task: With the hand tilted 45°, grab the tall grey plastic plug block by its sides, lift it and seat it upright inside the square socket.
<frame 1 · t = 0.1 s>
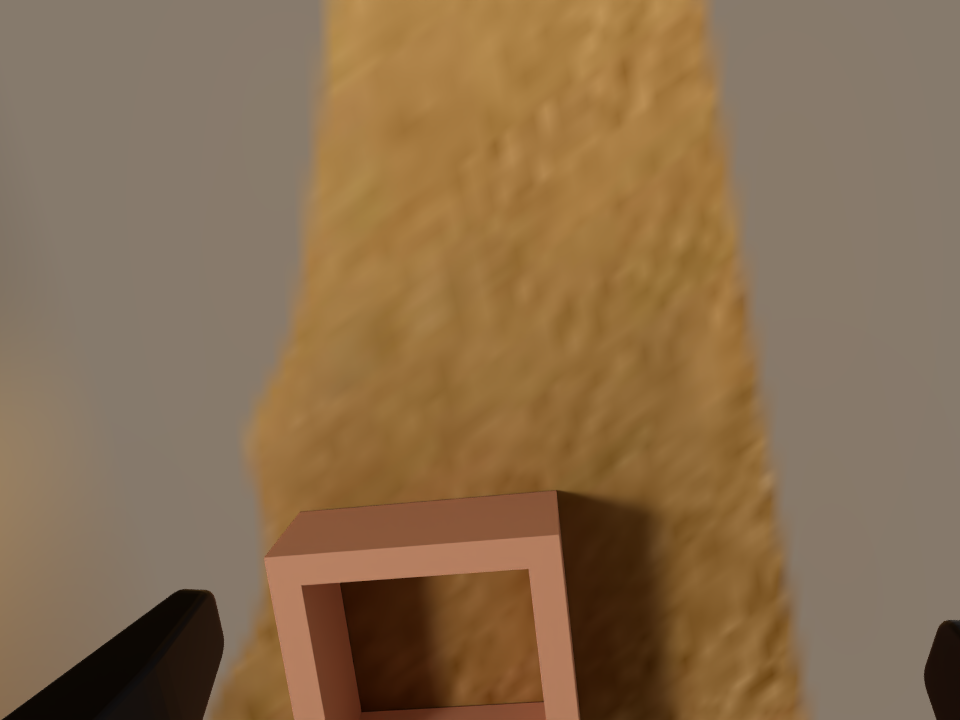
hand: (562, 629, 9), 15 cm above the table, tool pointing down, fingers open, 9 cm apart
socket: (442, 619, 27), on the table
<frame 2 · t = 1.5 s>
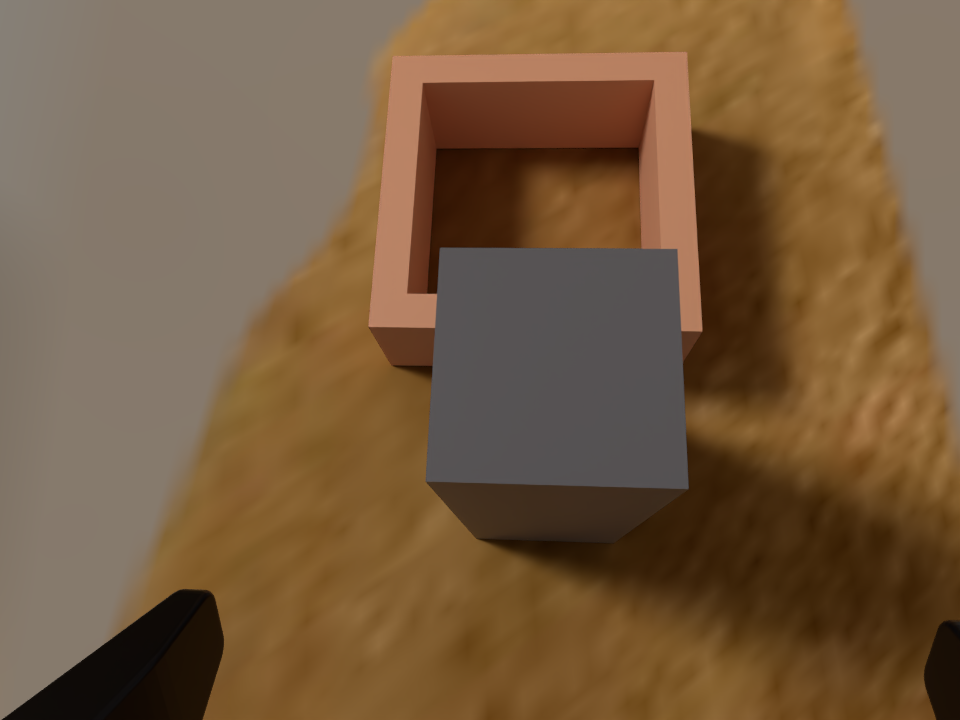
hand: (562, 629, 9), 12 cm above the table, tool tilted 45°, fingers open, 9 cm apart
plug: (545, 472, 22), on the table
socket: (534, 238, 25), on the table
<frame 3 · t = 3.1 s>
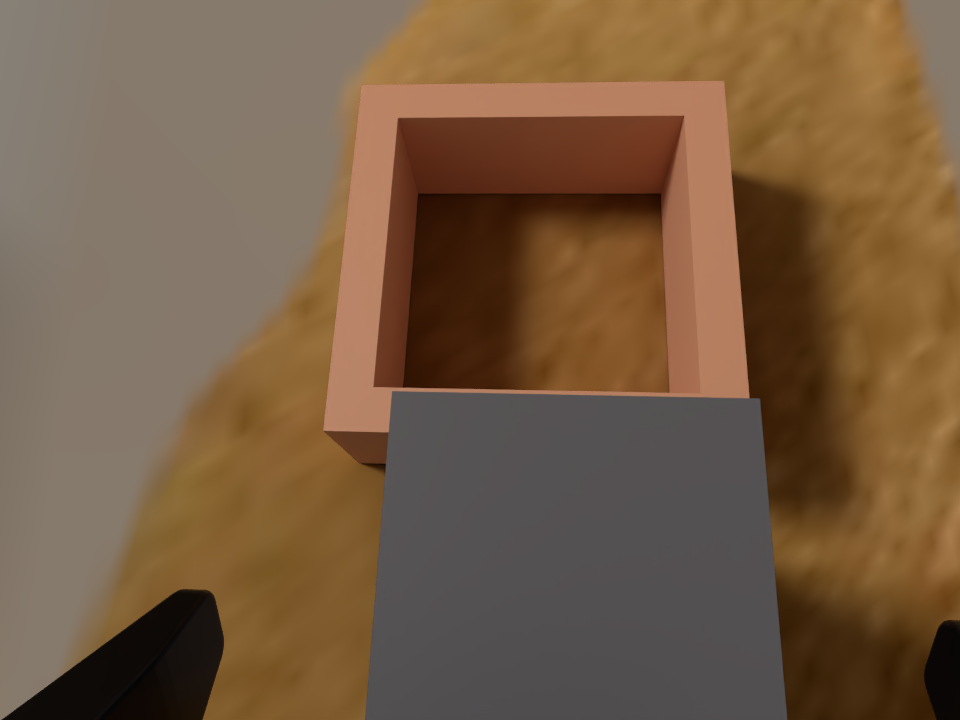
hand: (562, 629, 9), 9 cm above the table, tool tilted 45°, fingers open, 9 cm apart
plug: (549, 604, 18), on the table
socket: (536, 304, 20), on the table
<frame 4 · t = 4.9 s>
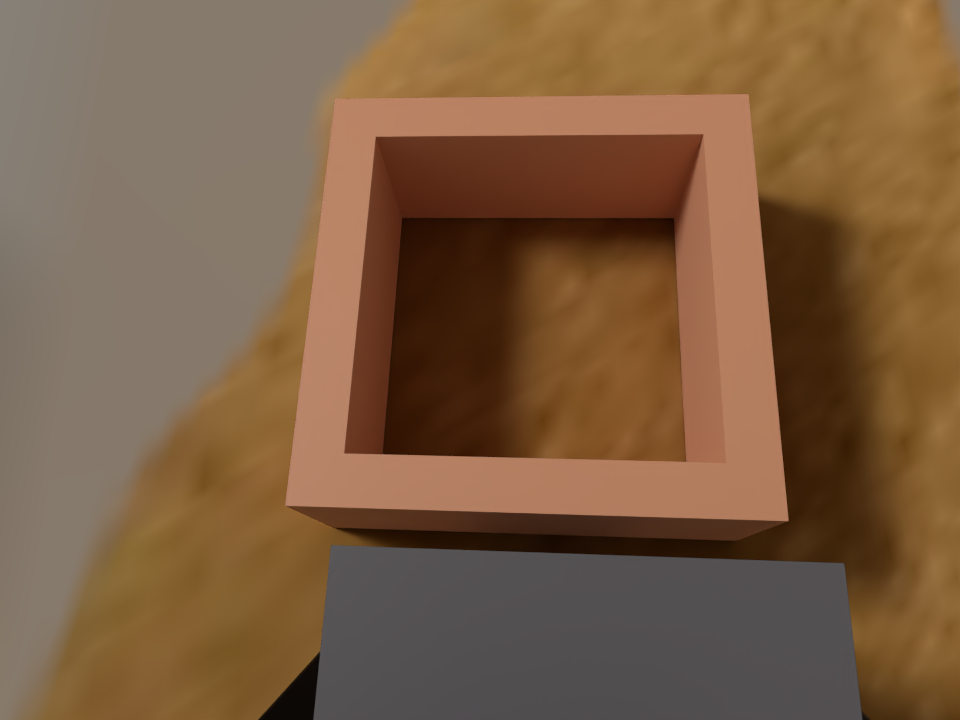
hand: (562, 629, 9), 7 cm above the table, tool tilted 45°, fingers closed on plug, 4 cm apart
plug: (549, 695, 16), on the table, touching gripper
socket: (534, 345, 18), on the table
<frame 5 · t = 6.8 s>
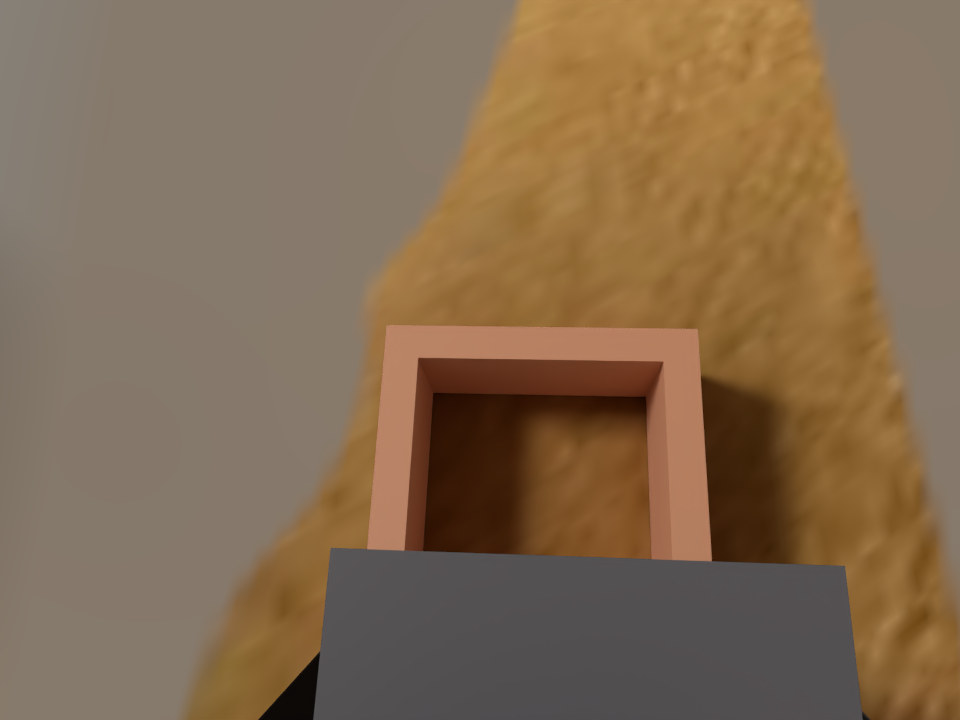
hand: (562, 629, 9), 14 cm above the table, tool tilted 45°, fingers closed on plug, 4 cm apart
plug: (549, 696, 16), point 7 cm above the table, touching gripper
socket: (536, 501, 23), on the table
when the fingers open (8 cm above the table, at t = 9.2 s): plug drops 1 cm, resting in socket.
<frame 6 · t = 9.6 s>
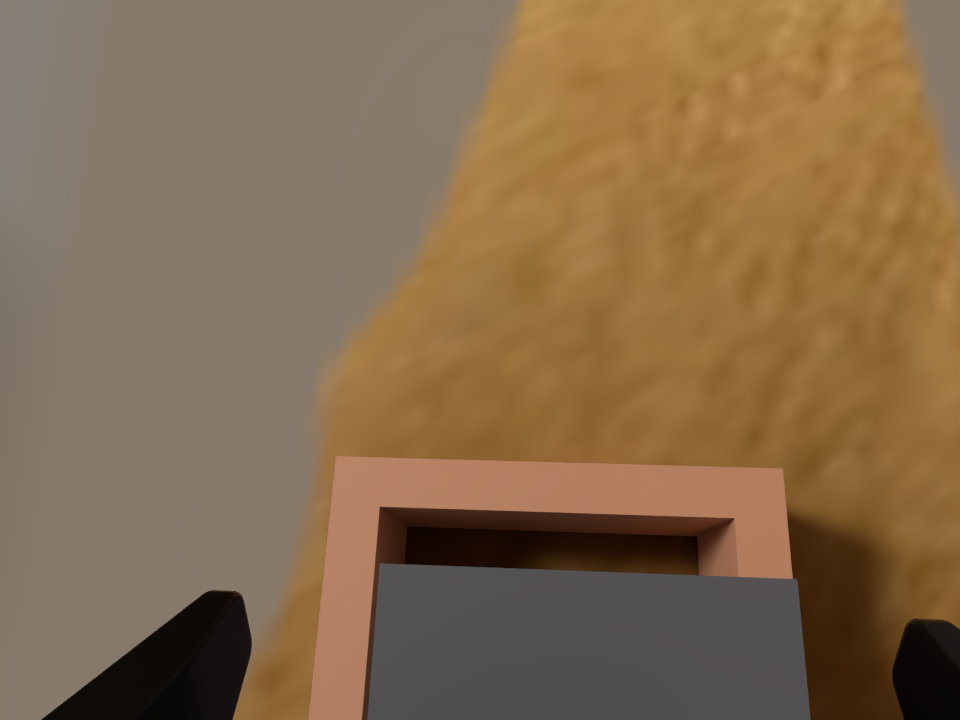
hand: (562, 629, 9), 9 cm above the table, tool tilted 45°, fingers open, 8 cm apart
plug: (545, 690, 17), resting in socket
socket: (548, 688, 17), on the table
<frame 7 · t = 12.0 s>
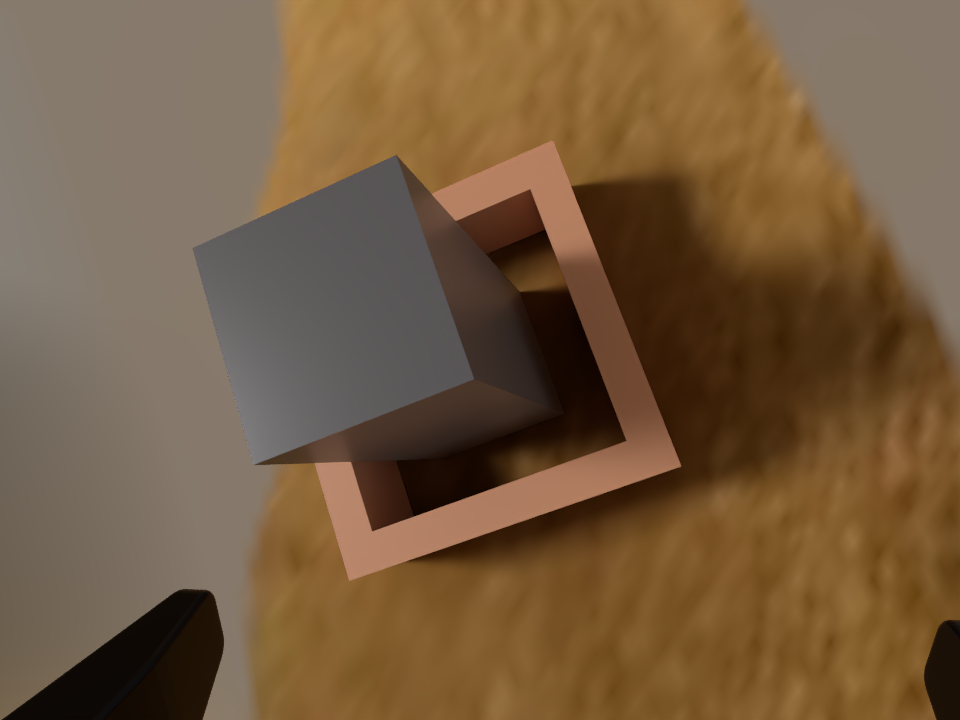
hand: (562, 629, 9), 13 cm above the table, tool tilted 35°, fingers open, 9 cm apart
plug: (481, 375, 23), resting in socket
socket: (482, 373, 23), on the table
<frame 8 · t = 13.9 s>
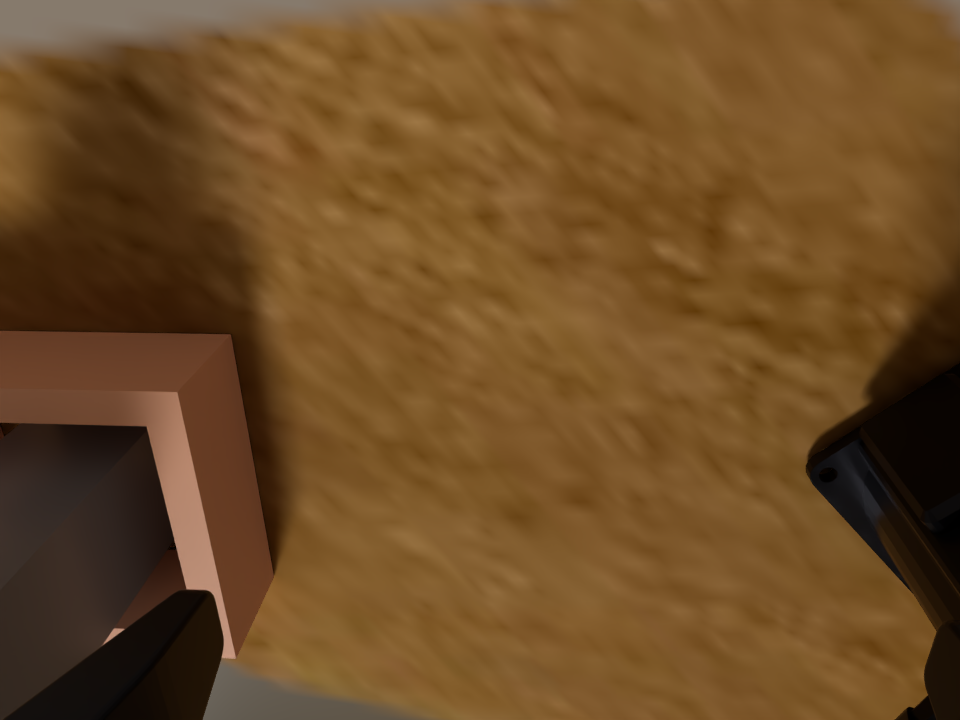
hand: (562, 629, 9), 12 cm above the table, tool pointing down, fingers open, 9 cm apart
plug: (118, 462, 24), resting in socket
socket: (116, 461, 24), on the table
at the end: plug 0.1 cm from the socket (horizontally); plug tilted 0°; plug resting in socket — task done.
